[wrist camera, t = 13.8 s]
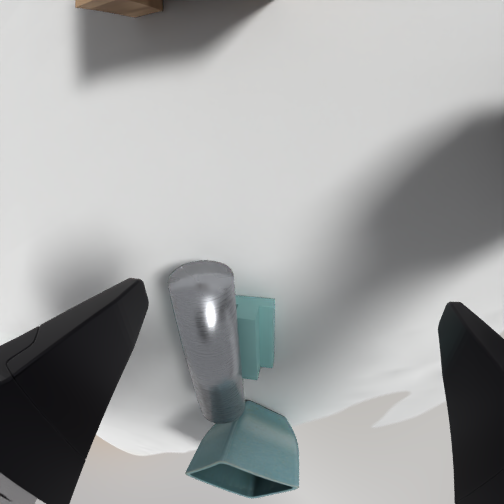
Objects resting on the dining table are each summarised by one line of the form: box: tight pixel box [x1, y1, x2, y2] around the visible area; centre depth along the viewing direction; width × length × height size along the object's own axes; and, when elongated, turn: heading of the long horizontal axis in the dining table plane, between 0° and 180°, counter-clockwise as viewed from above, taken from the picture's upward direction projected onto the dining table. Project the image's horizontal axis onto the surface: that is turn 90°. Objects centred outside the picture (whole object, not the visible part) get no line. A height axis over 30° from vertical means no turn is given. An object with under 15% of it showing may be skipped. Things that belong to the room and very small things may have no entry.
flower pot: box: [186, 401, 299, 498], centre depth 29 cm, size 9×9×9 cm
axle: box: [168, 260, 245, 424], centre depth 23 cm, size 4×14×4 cm, turn 2°
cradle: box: [170, 295, 275, 380], centre depth 25 cm, size 8×7×2 cm
